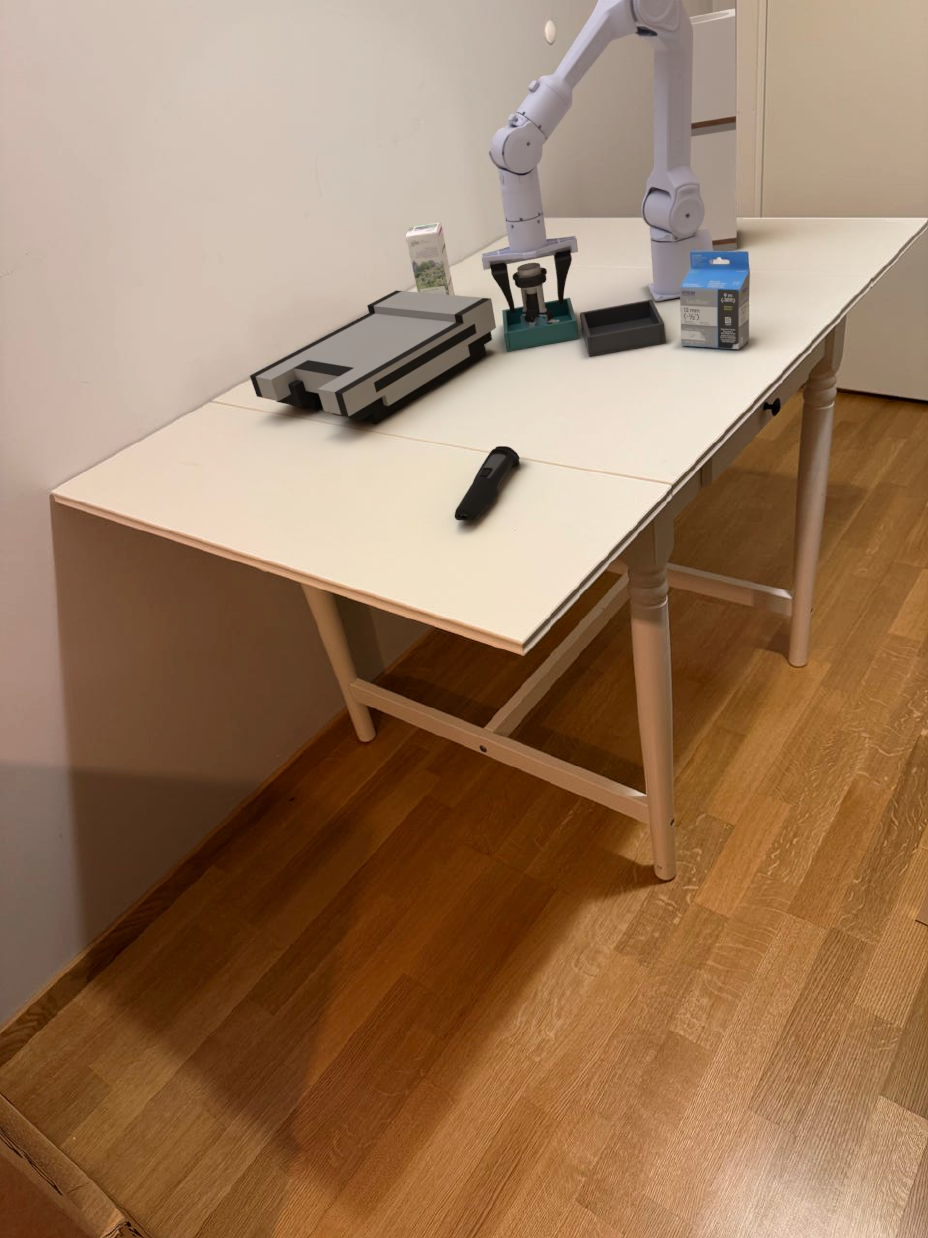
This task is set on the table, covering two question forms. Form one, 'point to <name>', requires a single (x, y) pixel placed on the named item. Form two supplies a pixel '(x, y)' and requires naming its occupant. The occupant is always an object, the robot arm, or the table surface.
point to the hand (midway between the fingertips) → (536, 306)
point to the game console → (383, 356)
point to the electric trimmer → (486, 483)
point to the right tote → (622, 327)
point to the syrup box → (429, 259)
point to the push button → (532, 295)
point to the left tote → (540, 327)
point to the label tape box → (716, 300)
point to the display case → (715, 124)
